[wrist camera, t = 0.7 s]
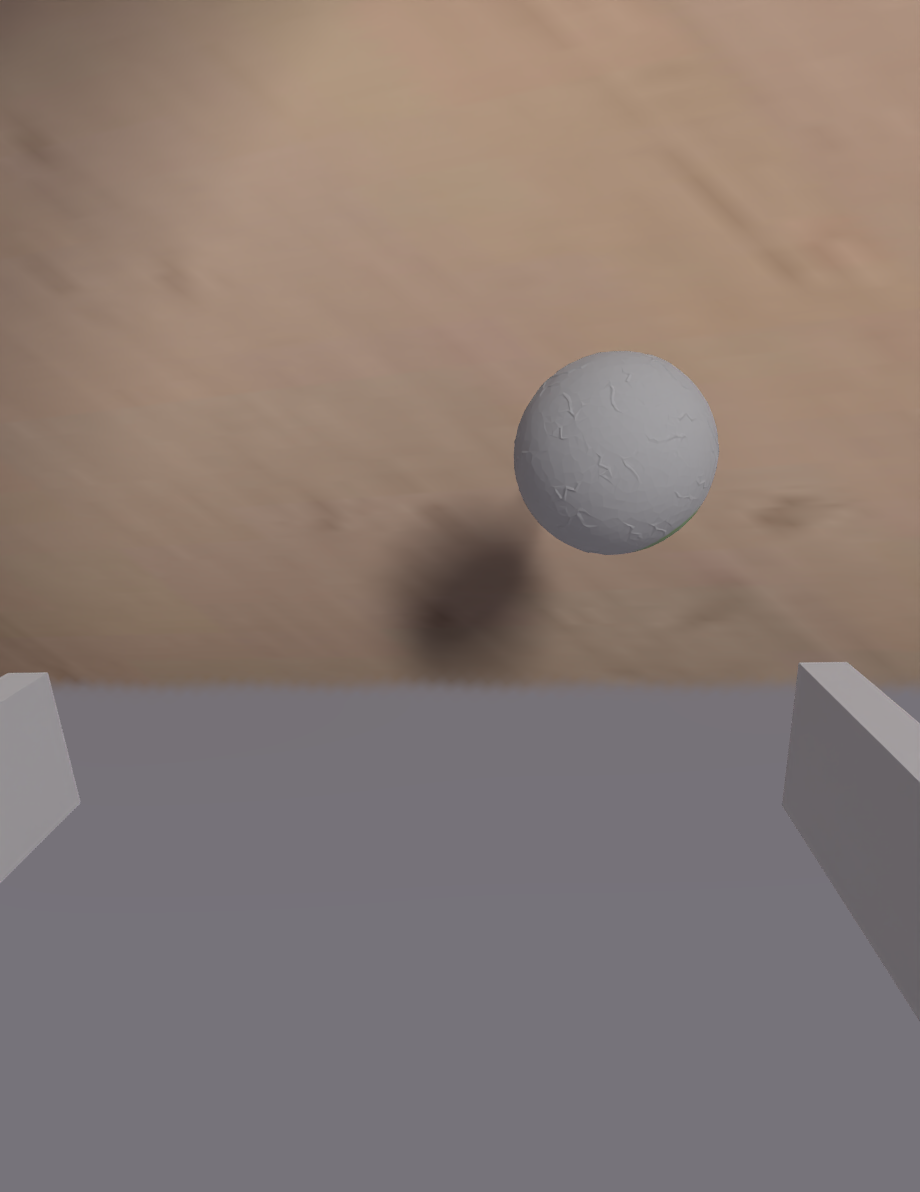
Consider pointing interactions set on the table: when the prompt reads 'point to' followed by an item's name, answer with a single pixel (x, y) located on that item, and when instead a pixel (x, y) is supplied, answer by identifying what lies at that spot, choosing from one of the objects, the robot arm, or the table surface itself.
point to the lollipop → (616, 452)
